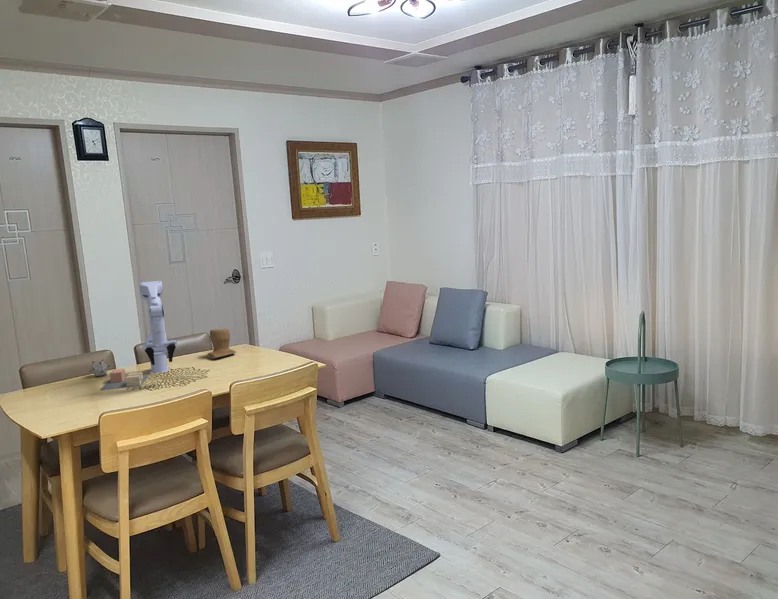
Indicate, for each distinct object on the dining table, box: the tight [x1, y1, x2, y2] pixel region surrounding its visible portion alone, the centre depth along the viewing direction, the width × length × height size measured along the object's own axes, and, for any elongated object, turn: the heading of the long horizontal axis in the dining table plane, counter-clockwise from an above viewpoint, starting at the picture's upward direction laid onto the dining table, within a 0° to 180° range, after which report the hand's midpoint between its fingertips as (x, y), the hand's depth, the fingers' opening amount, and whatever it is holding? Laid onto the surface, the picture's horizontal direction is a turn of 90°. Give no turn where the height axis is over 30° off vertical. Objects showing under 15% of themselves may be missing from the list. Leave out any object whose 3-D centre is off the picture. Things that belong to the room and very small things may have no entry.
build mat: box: [98, 373, 151, 391], centre depth 277 cm, size 22×17×1 cm
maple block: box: [126, 372, 144, 386], centre depth 272 cm, size 7×6×4 cm
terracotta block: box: [109, 368, 127, 383], centre depth 279 cm, size 7×5×4 cm
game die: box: [88, 359, 111, 378], centre depth 290 cm, size 9×8×10 cm
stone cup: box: [207, 327, 237, 360], centre depth 320 cm, size 15×12×15 cm
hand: (161, 363), depth 267 cm, fingers open, 7 cm apart
